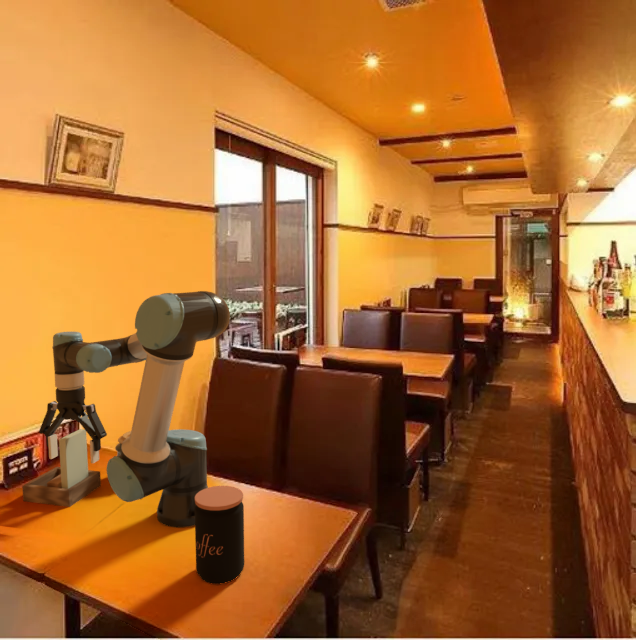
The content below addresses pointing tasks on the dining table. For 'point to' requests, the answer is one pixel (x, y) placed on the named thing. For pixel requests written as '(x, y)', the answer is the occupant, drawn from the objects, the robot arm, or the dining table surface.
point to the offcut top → (55, 482)
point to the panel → (73, 458)
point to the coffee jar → (219, 533)
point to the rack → (59, 489)
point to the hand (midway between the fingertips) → (74, 459)
